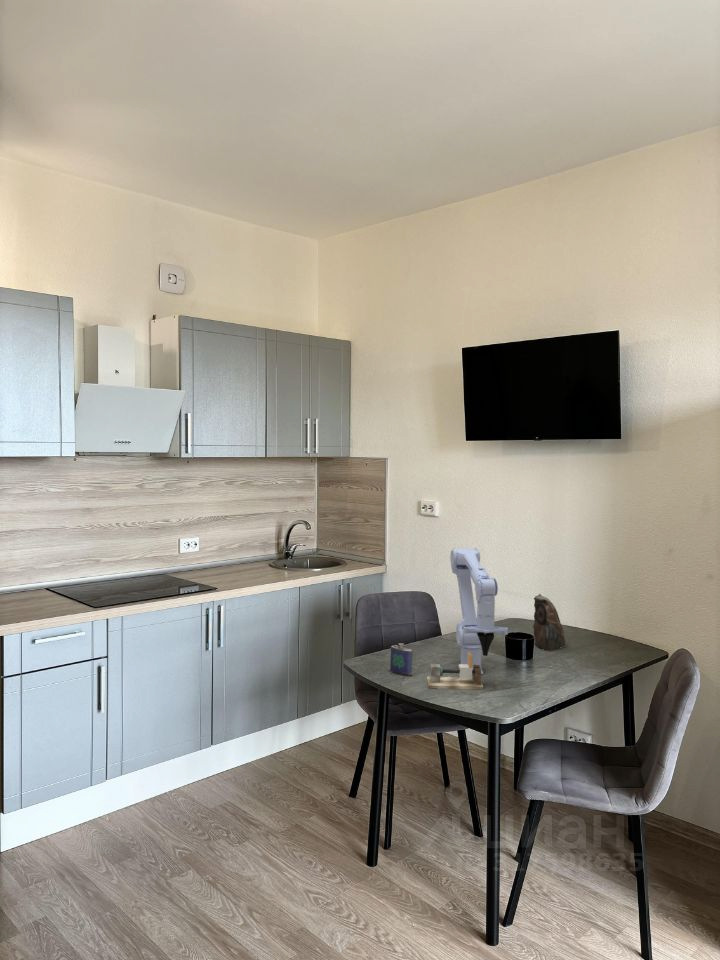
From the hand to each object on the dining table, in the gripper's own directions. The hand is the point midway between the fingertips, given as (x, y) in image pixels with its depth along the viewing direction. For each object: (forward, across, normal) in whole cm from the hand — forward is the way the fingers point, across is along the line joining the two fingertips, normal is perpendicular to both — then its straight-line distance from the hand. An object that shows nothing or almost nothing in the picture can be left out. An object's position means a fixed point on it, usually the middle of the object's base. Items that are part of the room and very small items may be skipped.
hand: (485, 654), depth 244 cm
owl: (+10, +32, +49) cm, 60 cm away
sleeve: (+8, -6, 0) cm, 10 cm away
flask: (+11, -28, +11) cm, 32 cm away
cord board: (+10, -10, 0) cm, 14 cm away
